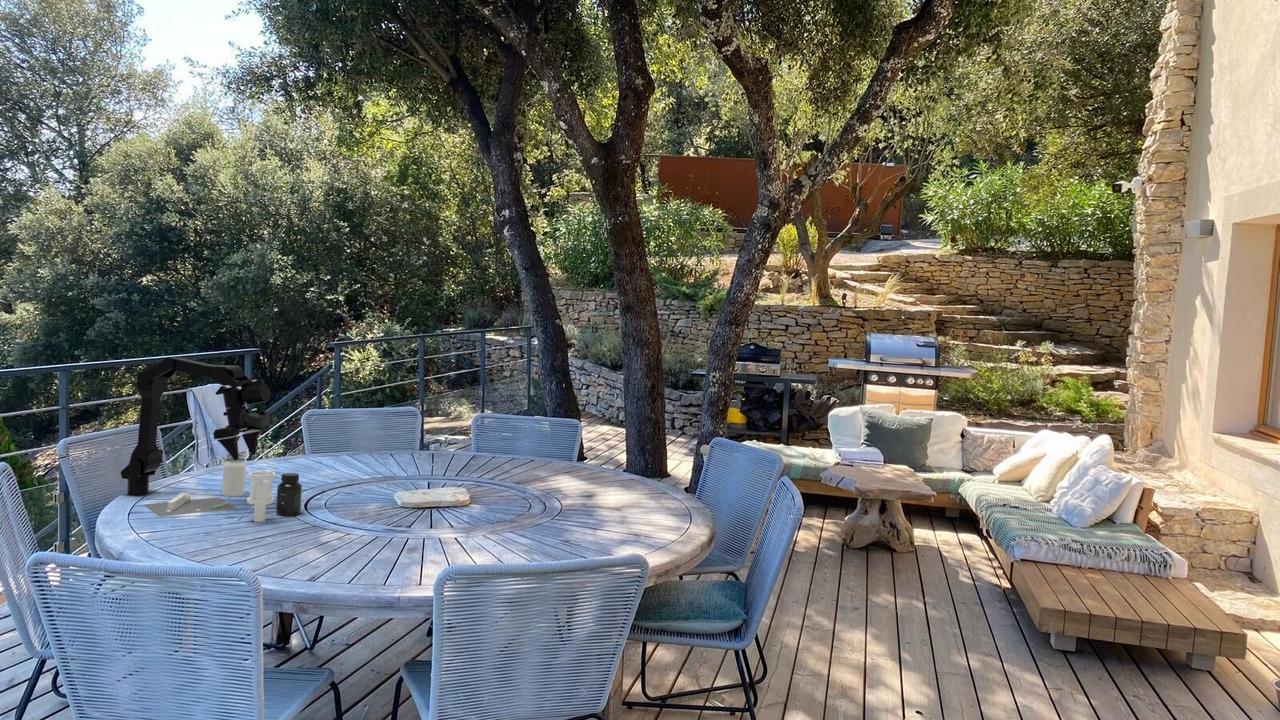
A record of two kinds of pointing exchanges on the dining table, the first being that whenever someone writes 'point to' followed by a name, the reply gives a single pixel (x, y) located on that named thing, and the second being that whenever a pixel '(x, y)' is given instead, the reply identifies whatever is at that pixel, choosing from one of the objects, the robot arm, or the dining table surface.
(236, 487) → the can
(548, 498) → the dining table surface
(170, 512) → the dial board
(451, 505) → the dining table surface
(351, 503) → the dining table surface
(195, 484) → the dining table surface
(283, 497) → the supplement bottle
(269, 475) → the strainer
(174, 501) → the beige wooden bar
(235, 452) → the robot arm
